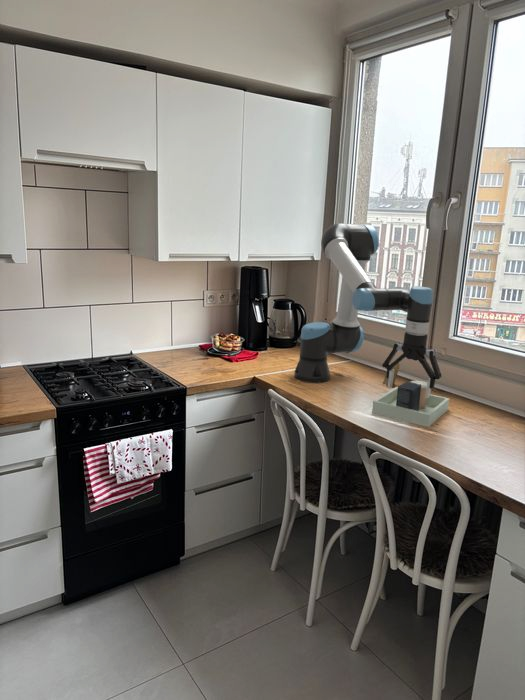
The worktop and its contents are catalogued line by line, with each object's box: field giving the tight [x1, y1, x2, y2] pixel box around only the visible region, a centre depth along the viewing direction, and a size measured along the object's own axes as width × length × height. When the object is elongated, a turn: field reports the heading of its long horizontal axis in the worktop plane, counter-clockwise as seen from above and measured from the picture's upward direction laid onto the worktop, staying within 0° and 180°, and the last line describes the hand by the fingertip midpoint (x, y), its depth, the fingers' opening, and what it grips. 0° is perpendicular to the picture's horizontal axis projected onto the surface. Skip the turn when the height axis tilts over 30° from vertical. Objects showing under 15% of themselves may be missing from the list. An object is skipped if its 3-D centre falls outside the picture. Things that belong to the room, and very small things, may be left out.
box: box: [396, 381, 421, 411], centre depth 186 cm, size 8×6×11 cm
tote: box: [371, 386, 450, 428], centre depth 190 cm, size 20×22×5 cm
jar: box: [410, 380, 427, 409], centre depth 195 cm, size 7×7×9 cm
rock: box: [382, 362, 401, 389], centre depth 221 cm, size 11×9×10 cm
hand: (408, 392), depth 186 cm, fingers open, 13 cm apart
